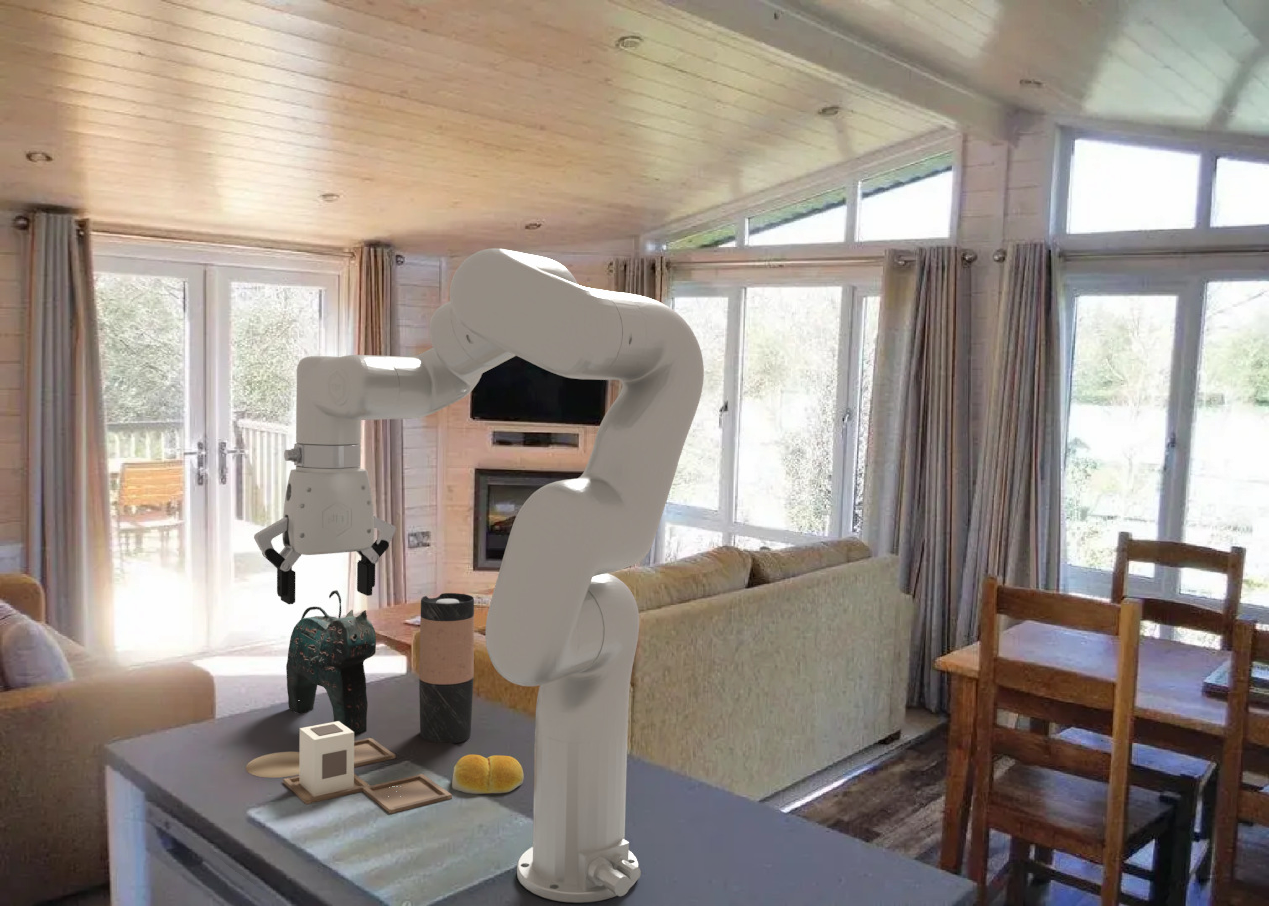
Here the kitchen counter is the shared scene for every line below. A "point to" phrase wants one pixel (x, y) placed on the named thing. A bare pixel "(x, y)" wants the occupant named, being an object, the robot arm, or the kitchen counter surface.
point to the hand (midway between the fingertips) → (327, 597)
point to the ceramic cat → (331, 664)
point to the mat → (275, 765)
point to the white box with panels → (326, 758)
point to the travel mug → (446, 667)
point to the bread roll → (487, 774)
